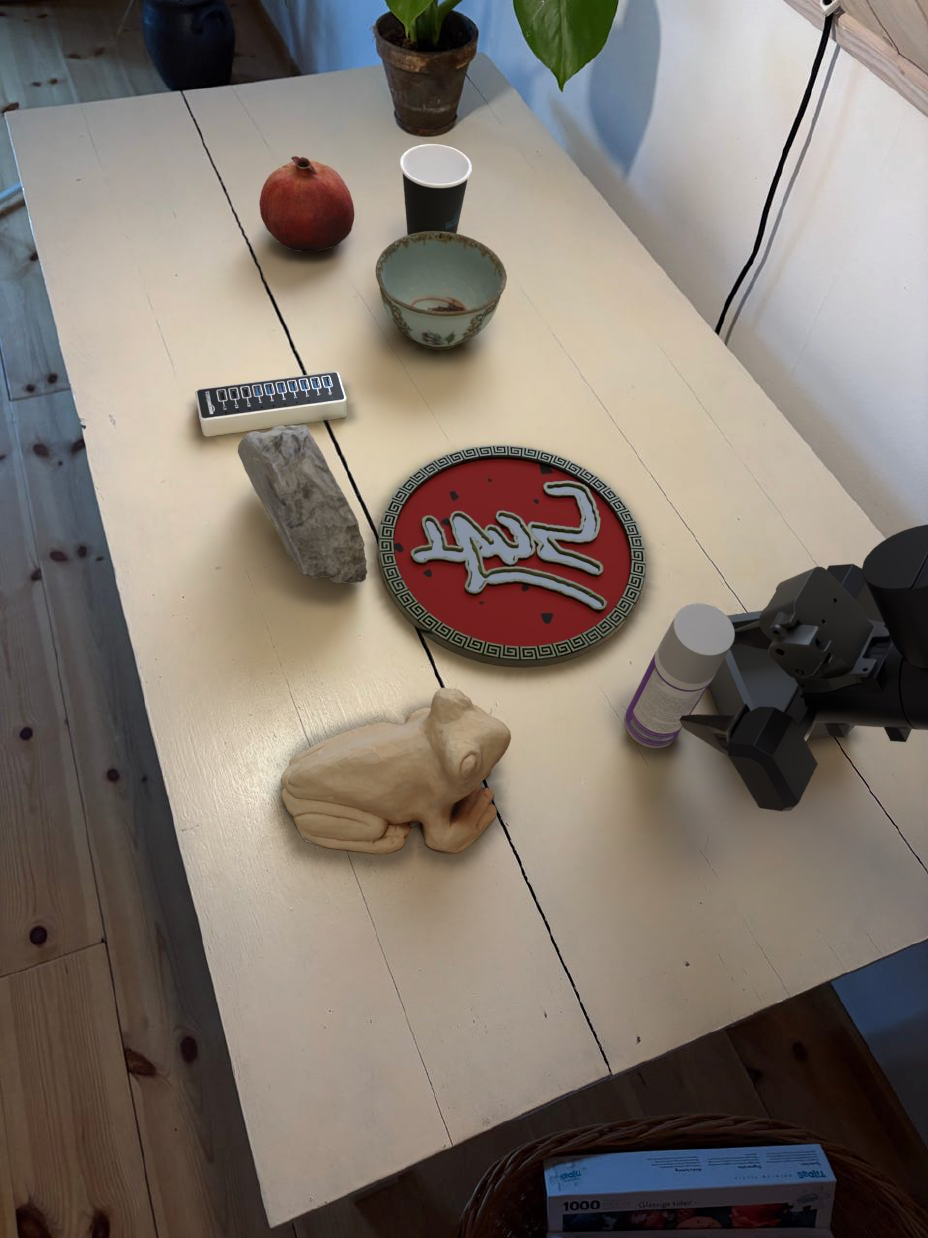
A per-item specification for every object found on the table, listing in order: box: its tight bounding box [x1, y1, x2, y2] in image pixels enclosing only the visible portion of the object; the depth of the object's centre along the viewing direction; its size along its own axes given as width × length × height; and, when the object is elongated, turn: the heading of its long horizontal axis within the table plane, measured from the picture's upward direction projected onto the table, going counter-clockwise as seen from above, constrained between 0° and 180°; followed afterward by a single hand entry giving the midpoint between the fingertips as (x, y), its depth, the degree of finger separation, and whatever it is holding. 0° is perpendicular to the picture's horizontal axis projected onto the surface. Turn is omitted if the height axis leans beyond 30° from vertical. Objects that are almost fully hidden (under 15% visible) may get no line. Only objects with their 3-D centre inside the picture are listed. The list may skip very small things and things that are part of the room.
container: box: [624, 602, 735, 749], centre depth 74 cm, size 5×5×15 cm
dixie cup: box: [399, 143, 473, 235], centre depth 108 cm, size 8×8×11 cm
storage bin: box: [708, 609, 855, 741], centre depth 81 cm, size 11×11×5 cm
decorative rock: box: [237, 424, 368, 585], centre depth 81 cm, size 16×7×15 cm, turn 28°
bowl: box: [375, 231, 508, 351], centre depth 101 cm, size 14×13×8 cm
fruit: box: [258, 155, 355, 253], centre depth 107 cm, size 11×10×10 cm
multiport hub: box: [194, 371, 348, 437], centre depth 95 cm, size 4×14×2 cm, turn 106°
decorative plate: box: [377, 444, 647, 668], centre depth 88 cm, size 25×1×25 cm
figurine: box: [280, 687, 512, 855], centre depth 71 cm, size 12×17×10 cm
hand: (709, 678), depth 71 cm, fingers open, 9 cm apart
